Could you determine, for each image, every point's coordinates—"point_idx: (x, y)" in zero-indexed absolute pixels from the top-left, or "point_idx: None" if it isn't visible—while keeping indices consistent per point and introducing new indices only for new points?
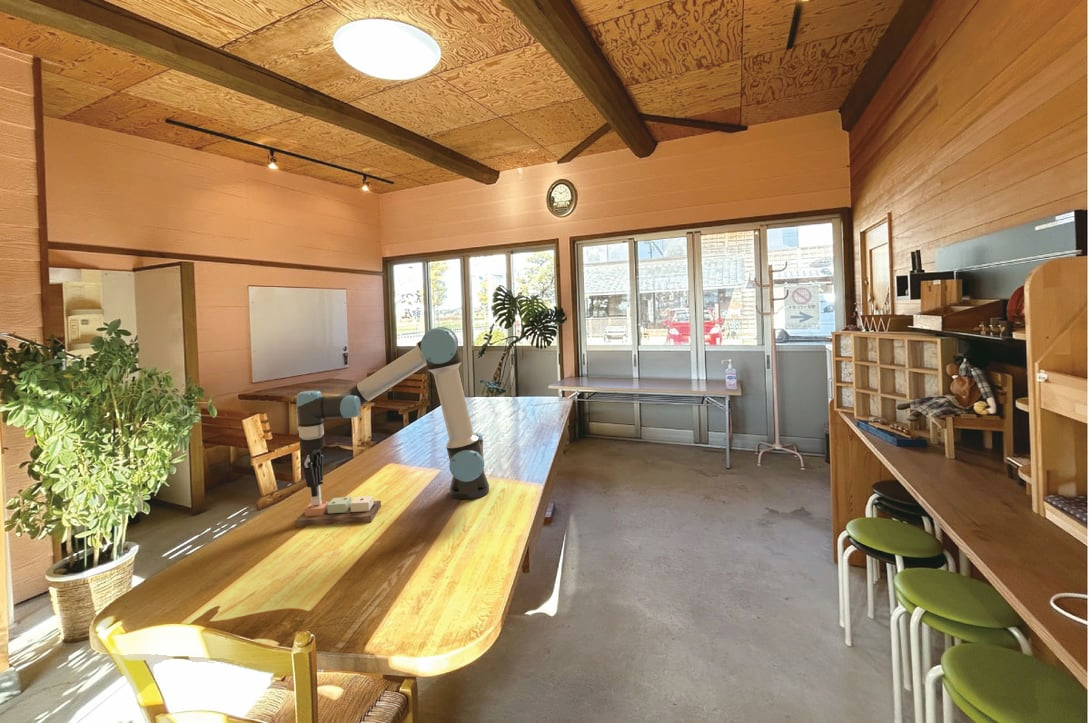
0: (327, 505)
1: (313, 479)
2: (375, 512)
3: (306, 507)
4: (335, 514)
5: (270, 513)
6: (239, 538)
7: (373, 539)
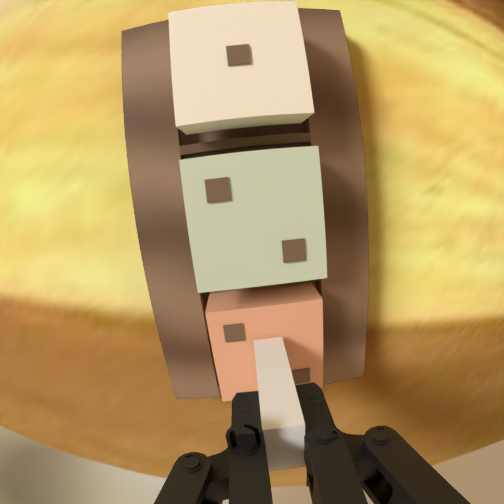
0: (326, 274)
1: (438, 475)
2: None
3: None
4: None
5: None
6: None
7: (453, 10)
